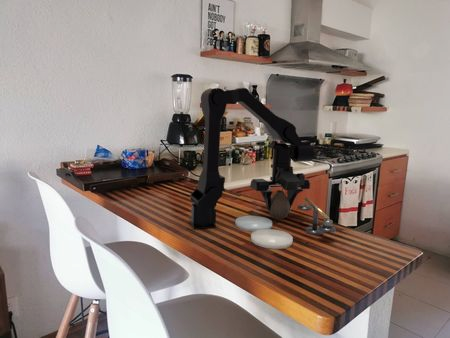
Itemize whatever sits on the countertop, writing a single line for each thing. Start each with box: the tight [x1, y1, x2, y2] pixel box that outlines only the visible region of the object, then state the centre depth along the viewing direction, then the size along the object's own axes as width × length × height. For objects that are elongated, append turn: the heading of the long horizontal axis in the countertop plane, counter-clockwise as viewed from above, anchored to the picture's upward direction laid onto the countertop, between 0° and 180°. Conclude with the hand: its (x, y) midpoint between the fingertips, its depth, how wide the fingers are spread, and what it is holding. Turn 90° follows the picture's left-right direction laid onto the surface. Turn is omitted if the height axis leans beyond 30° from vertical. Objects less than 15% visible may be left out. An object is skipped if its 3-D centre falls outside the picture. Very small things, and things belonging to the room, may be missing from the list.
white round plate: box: [235, 215, 273, 233], centre depth 102 cm, size 11×11×1 cm
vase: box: [268, 189, 291, 220], centre depth 110 cm, size 7×7×9 cm
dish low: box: [250, 228, 294, 250], centre depth 90 cm, size 11×11×1 cm
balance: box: [297, 196, 337, 236], centre depth 97 cm, size 16×5×9 cm, turn 18°
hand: (278, 209), depth 110 cm, fingers closed on vase, 7 cm apart
